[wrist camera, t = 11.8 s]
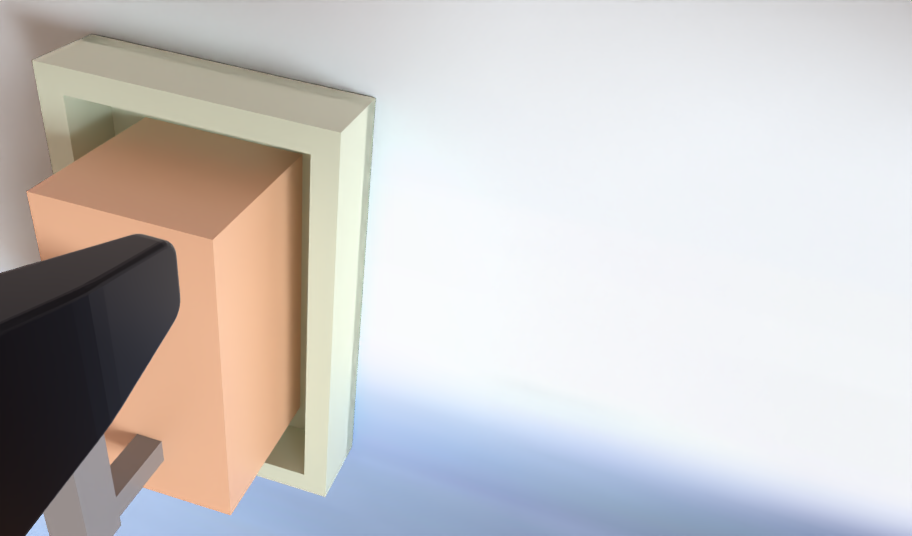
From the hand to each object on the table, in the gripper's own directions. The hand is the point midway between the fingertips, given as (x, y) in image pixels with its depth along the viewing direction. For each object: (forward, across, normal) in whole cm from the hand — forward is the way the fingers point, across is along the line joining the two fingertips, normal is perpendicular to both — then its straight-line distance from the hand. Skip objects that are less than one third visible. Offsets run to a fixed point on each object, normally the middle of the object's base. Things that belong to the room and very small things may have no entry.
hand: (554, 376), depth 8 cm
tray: (+13, +11, +10) cm, 20 cm away
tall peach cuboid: (+12, +11, +10) cm, 19 cm away
